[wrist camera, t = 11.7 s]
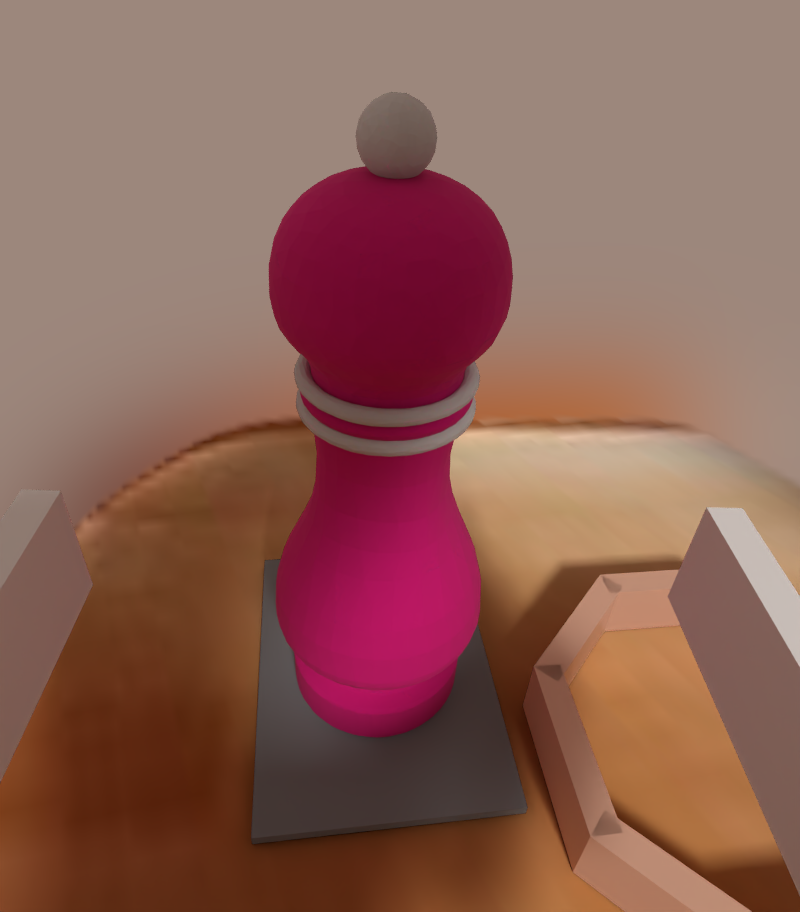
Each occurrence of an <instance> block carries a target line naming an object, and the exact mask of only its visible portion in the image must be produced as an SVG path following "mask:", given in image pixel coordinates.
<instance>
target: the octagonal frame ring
mask: <svg viewBox="0 0 800 912" xmlns="http://www.w3.org/2000/svg"><path fill="white" fill-rule="evenodd" d="M678 571H679V570H663V571H648V572H633V573H618V574H603V575H600V576H599V577H598V578H597V580H596V581H595V582H594V584H593V585H592V587H591V588H590V589H589V591H588V592H587V594H586V595H585V596H584V598H583V599H582V600H581V602H580V603H579V605H578V606H577V607H576V609H575V610H574V611H573V613H572V614H571V616H570V617H569V618H568V620H567V621H566V622H565V624H564V625H563V627H562V628H561V629H560V631H559V632H558V633H557V635H556V636H555V638H554V639H553V640H552V642H551V643H550V645H549V646H548V647H547V649H546V650H545V651H544V653H543V654H542V656H541V657H540V658H539V660H538V661H537V662H536V664H535V665H534V667H533V670H532V674H531V678H530V681H529V685H528V688H527V692H526V695H525V699H524V702H523V708H524V711H525V715H526V718H527V721H528V725H529V728H530V731H531V735H532V738H533V741H534V745H535V748H536V751H537V754H538V758H539V761H540V764H541V768H542V771H543V774H544V778H545V781H546V784H547V788H548V791H549V794H550V798H551V801H552V804H553V808H554V811H555V814H556V817H557V821H558V824H559V827H560V831H561V834H562V837H563V841H564V844H565V847H566V851H567V854H568V857H569V861H570V864H571V867H572V870H573V873H575V874H576V875H577V876H579V877H580V878H581V879H583V880H584V881H585V882H587V883H588V884H589V885H590V886H592V887H593V888H594V889H596V890H597V891H598V892H600V893H601V894H602V895H604V896H605V897H606V898H608V899H609V900H610V901H612V902H613V903H614V904H615V905H617V906H618V907H619V908H621V909H622V910H623V911H625V912H752V911H750V910H749V909H747V908H746V907H744V906H743V905H742V904H740V903H739V902H737V901H736V900H734V899H733V898H731V897H730V896H729V895H727V894H726V893H724V892H723V891H721V890H720V889H718V888H717V887H716V886H714V885H713V884H711V883H710V882H708V881H707V880H706V879H704V878H703V877H701V876H700V875H698V874H697V873H695V872H694V871H693V870H691V869H690V868H688V867H687V866H685V865H684V864H683V863H681V862H680V861H678V860H677V859H675V858H674V857H672V856H671V855H670V854H668V853H667V852H665V851H664V850H662V849H661V848H660V847H658V846H657V845H655V844H654V843H652V842H651V841H649V840H648V839H647V838H645V837H644V836H642V835H641V834H639V833H638V832H637V831H635V830H634V829H632V828H631V827H629V826H628V825H626V824H625V823H624V822H622V821H621V820H619V819H618V818H617V815H616V813H615V810H614V807H613V805H612V802H611V799H610V797H609V794H608V791H607V788H606V786H605V783H604V780H603V778H602V775H601V772H600V770H599V767H598V764H597V762H596V759H595V756H594V753H593V751H592V748H591V745H590V743H589V740H588V737H587V735H586V732H585V729H584V727H583V724H582V721H581V719H580V716H579V713H578V710H577V708H576V705H575V702H574V700H573V697H572V694H571V692H570V689H569V685H570V683H571V682H572V680H573V679H574V677H575V676H576V674H577V672H578V671H579V669H580V668H581V666H582V665H583V663H584V662H585V660H586V659H587V657H588V656H589V654H590V653H591V651H592V650H593V648H594V646H595V645H596V643H597V642H598V640H599V639H600V637H601V636H602V634H603V633H604V631H615V630H628V629H640V628H653V627H666V626H679V625H680V623H679V621H678V619H677V616H676V614H675V612H674V610H673V607H672V605H671V603H670V601H669V598H668V594H669V592H670V590H671V587H672V585H673V583H674V581H675V578H676V576H677V574H678Z"/></svg>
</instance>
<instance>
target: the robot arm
mask: <svg viewBox="0 0 800 912" xmlns="http://www.w3.org/2000/svg"><path fill="white" fill-rule="evenodd" d="M92 586H93V583H92V580H91V577H90V575H89V572H88V569H87V566H86V563H85V560H84V557H83V554H82V551H81V548H80V545H79V542H78V540H77V537H76V534H75V531H74V528H73V525H72V522H71V519H70V516H69V513H68V510H67V507H66V504H65V502H64V499H63V496H62V493H61V491H54V490H52V491H51V490H21V491H20V493H19V494H18V495H17V497H16V498H15V500H14V501H13V503H12V504H11V506H10V507H9V509H8V510H7V511H6V513H5V514H4V516H3V517H2V519H1V520H0V782H1V780H2V778H3V776H4V774H5V772H6V770H7V767H8V765H9V763H10V761H11V759H12V757H13V755H14V752H15V750H16V748H17V746H18V744H19V742H20V740H21V737H22V735H23V733H24V731H25V729H26V727H27V725H28V723H29V720H30V718H31V716H32V714H33V712H34V710H35V708H36V705H37V703H38V701H39V699H40V697H41V695H42V693H43V691H44V688H45V686H46V684H47V682H48V680H49V678H50V676H51V673H52V671H53V669H54V667H55V665H56V663H57V661H58V658H59V656H60V654H61V652H62V650H63V648H64V646H65V644H66V641H67V639H68V637H69V635H70V633H71V631H72V629H73V626H74V624H75V622H76V620H77V618H78V616H79V614H80V612H81V609H82V607H83V605H84V603H85V601H86V599H87V597H88V594H89V592H90V590H91V588H92ZM668 598H669V601H670V603H671V605H672V607H673V610H674V612H675V614H676V616H677V619H678V621H679V623H680V626H681V628H682V630H683V632H684V635H685V637H686V639H687V641H688V644H689V646H690V648H691V650H692V653H693V655H694V657H695V660H696V662H697V664H698V666H699V669H700V671H701V673H702V675H703V678H704V680H705V682H706V684H707V687H708V689H709V691H710V694H711V696H712V698H713V700H714V703H715V705H716V707H717V709H718V712H719V714H720V716H721V719H722V721H723V723H724V725H725V728H726V730H727V732H728V734H729V737H730V739H731V741H732V743H733V746H734V748H735V750H736V753H737V755H738V757H739V759H740V762H741V764H742V766H743V768H744V771H745V773H746V775H747V777H748V780H749V782H750V784H751V787H752V789H753V791H754V793H755V796H756V798H757V800H758V802H759V805H760V807H761V809H762V811H763V814H764V816H765V818H766V821H767V823H768V825H769V827H770V830H771V832H772V834H773V836H774V839H775V841H776V843H777V845H778V848H779V850H780V852H781V855H782V857H783V859H784V861H785V864H786V866H787V868H788V870H789V873H790V875H791V877H792V879H793V882H794V884H795V886H796V889H797V891H798V893H799V895H800V596H799V594H798V593H797V591H796V590H795V588H794V587H793V585H792V584H791V582H790V581H789V579H788V578H787V576H786V574H785V573H784V571H783V570H782V568H781V567H780V565H779V564H778V562H777V561H776V559H775V557H774V556H773V554H772V553H771V551H770V550H769V548H768V547H767V545H766V544H765V542H764V540H763V539H762V537H761V536H760V534H759V533H758V531H757V530H756V528H755V527H754V525H753V524H752V522H751V520H750V519H749V517H748V516H747V514H746V513H745V511H744V510H743V508H711V507H707V508H706V510H705V512H704V514H703V517H702V519H701V521H700V524H699V526H698V528H697V530H696V533H695V535H694V537H693V539H692V542H691V544H690V546H689V549H688V551H687V553H686V555H685V558H684V560H683V562H682V565H681V567H680V569H679V571H678V574H677V576H676V578H675V581H674V583H673V585H672V587H671V590H670V592H669V594H668Z"/></svg>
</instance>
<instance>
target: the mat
mask: <svg viewBox="0 0 800 912" xmlns="http://www.w3.org/2000/svg"><path fill="white" fill-rule="evenodd" d="M280 560H281V559H277V560H265V568H264V588H263V608H262V629H261V649H260V669H259V689H258V710H257V730H256V750H255V771H254V791H253V811H252V832H251V840H252V844H257V843H266V842H275V841H283V840H292V839H301V838H310V837H319V836H328V835H337V834H345V833H354V832H363V831H372V830H381V829H390V828H399V827H407V826H416V825H425V824H434V823H443V822H452V821H461V820H469V819H478V818H487V817H496V816H505V815H514V814H523V813H526V811H527V808H528V807H527V804H526V800H525V796H524V793H523V789H522V785H521V782H520V778H519V774H518V770H517V767H516V763H515V759H514V756H513V752H512V748H511V745H510V741H509V737H508V734H507V730H506V726H505V723H504V719H503V715H502V712H501V708H500V704H499V700H498V697H497V693H496V689H495V686H494V682H493V678H492V675H491V671H490V667H489V664H488V660H487V656H486V653H485V649H484V645H483V642H482V638H481V634H480V630H479V627H478V623H477V626H476V629H475V631H474V633H473V635H472V638H471V640H470V642H469V644H468V645H467V647H466V648H465V649H464V651H463V652H462V654H461V655H460V656H459V657H458V661H457V667H456V673H455V679H454V684H453V687H452V690H451V693H450V695H449V697H448V698H447V700H446V702H445V703H444V705H443V706H442V708H441V709H440V710H439V711H438V712H437V713H436V714H435V715H434V716H433V717H432V718H430V719H429V720H428V721H426V722H425V723H423V724H422V725H420V726H418V727H417V728H415V729H412V730H410V731H408V732H405V733H402V734H398V735H393V736H389V737H378V738H377V737H366V736H358V735H353V734H350V733H347V732H344V731H342V730H339V729H337V728H335V727H333V726H331V725H330V724H328V723H326V722H325V721H324V720H323V719H321V718H320V717H319V716H318V715H317V714H315V713H314V712H313V710H312V709H311V708H310V706H309V705H308V704H307V702H306V701H305V700H304V698H303V696H302V694H301V691H300V689H299V686H298V682H297V677H296V667H295V655H294V651H293V650H292V649H291V647H290V646H289V645H288V643H287V642H286V639H285V637H284V635H283V632H282V630H281V628H280V625H279V621H278V617H277V612H276V579H277V572H278V567H279V563H280Z"/></svg>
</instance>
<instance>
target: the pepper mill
mask: <svg viewBox="0 0 800 912" xmlns="http://www.w3.org/2000/svg"><path fill="white" fill-rule="evenodd" d="M356 141H357V149H358V152H359V154H360V157H361V160H362V161H363V163H364V164H365V167H359V168H353V169H349V170H346V171H343V172H340V173H337V174H334V175H331V176H329V177H327V178H326V179H324V180H322V181H320V182H318V183H317V184H315V185H314V186H312V187H311V188H310V189H308V190H307V191H306V192H304V193H303V194H302V195H301V196H300V197H299V198H298V200H297V201H296V202H295V203H294V204H293V205H292V206H291V207H290V209H289V210H288V212H287V213H286V214H285V216H284V217H283V219H282V221H281V223H280V226H279V228H278V230H277V233H276V235H275V237H274V241H273V247H272V252H271V257H270V262H269V294H270V300H271V305H272V309H273V313H274V316H275V319H276V321H277V324H278V326H279V329H280V330H281V332H282V333H283V334H284V336H285V337H286V339H287V340H288V341H289V343H290V344H291V345H292V346H293V347H294V348H295V349H296V350H297V351H298V352H299V353H300V356H299V358H298V360H297V363H296V365H295V369H294V375H295V381H296V384H297V387H298V388H299V390H298V392H297V399H296V407H297V411H298V413H299V416H300V418H301V420H302V422H303V423H304V424H305V425H306V426H307V428H308V429H309V430H310V431H311V432H313V433H314V435H315V442H316V449H317V460H316V481H315V485H314V489H313V493H312V496H311V498H310V500H309V502H308V504H307V506H306V508H305V510H304V511H303V513H302V515H301V517H300V518H299V520H298V522H297V523H296V525H295V527H294V528H293V530H292V532H291V533H290V536H289V538H288V540H287V543H286V545H285V547H284V550H283V554H282V557H281V560H280V563H279V567H278V572H277V579H276V612H277V617H278V621H279V625H280V628H281V630H282V632H283V635H284V637H285V639H286V642H287V643H288V645H289V646H290V647H291V649H292V650H293V651H294V655H295V667H296V677H297V682H298V686H299V689H300V691H301V694H302V696H303V698H304V700H305V701H306V702H307V704H308V705H309V706H310V708H311V709H312V710H313V712H314V713H315V714H317V715H318V716H319V717H320V718H321V719H323V720H324V721H325V722H326V723H328V724H330V725H331V726H333V727H335V728H337V729H339V730H342V731H344V732H347V733H350V734H353V735H358V736H366V737H377V738H378V737H389V736H393V735H398V734H402V733H405V732H408V731H410V730H412V729H415V728H417V727H418V726H420V725H422V724H423V723H425V722H426V721H428V720H429V719H430V718H432V717H433V716H434V715H435V714H436V713H437V712H438V711H439V710H440V709H441V708H442V706H443V705H444V703H445V702H446V700H447V698H448V697H449V695H450V693H451V690H452V687H453V684H454V679H455V673H456V667H457V661H458V657H459V656H460V655H461V654H462V652H463V651H464V649H465V648H466V647H467V645H468V644H469V642H470V640H471V638H472V635H473V633H474V631H475V629H476V626H477V623H478V618H479V614H480V594H481V577H480V571H479V566H478V561H477V557H476V552H475V548H474V545H473V542H472V540H471V537H470V535H469V533H468V530H467V528H466V526H465V523H464V521H463V519H462V516H461V514H460V512H459V509H458V507H457V504H456V501H455V498H454V496H453V493H452V488H451V482H450V476H449V475H450V453H451V449H452V445H453V441H454V440H455V439H456V438H458V437H459V436H460V435H462V434H463V433H464V432H465V431H466V429H467V428H468V427H469V425H470V424H471V422H472V421H473V417H474V414H475V410H476V405H475V403H476V401H475V398H474V396H475V394H476V391H477V389H478V387H479V380H480V375H479V370H478V368H477V366H476V363H475V360H477V359H478V358H479V357H480V356H481V355H482V354H483V353H484V352H486V350H487V349H488V348H489V347H490V346H491V345H492V344H493V342H494V340H495V338H496V337H497V335H498V333H499V331H500V329H501V327H502V325H503V323H504V322H505V320H506V318H507V314H508V310H509V307H510V300H511V291H512V280H513V275H512V274H513V273H512V259H511V255H510V251H509V246H508V242H507V239H506V237H505V234H504V232H503V229H502V226H501V225H500V223H499V221H498V219H497V218H496V216H495V214H494V212H493V211H492V210H491V209H490V208H489V207H488V205H487V204H486V203H485V202H484V201H483V200H482V199H481V198H480V197H479V196H478V195H477V194H475V193H474V192H473V191H471V190H470V189H469V188H467V187H466V186H465V185H463V184H461V183H459V182H457V181H455V180H453V179H451V178H449V177H447V176H445V175H442V174H438V173H436V172H433V171H430V170H425V168H426V167H427V166H428V164H429V163H430V162H431V160H432V157H433V155H434V153H435V148H436V142H437V132H436V125H435V123H434V120H433V117H432V115H431V112H430V111H429V110H428V109H427V107H426V106H425V105H424V104H423V103H422V102H421V101H419V100H418V99H416V98H414V97H412V96H411V95H409V94H407V93H397V92H390V93H386V94H383V95H381V96H380V97H378V98H376V99H374V100H373V101H372V102H371V103H370V104H369V105H368V106H367V107H366V108H365V110H364V111H363V113H362V114H361V116H360V118H359V121H358V126H357V130H356Z"/></svg>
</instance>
